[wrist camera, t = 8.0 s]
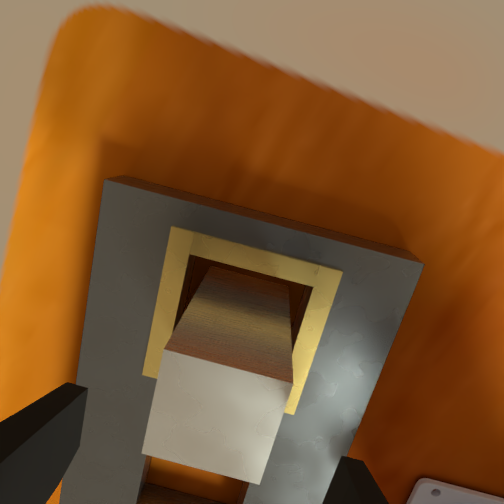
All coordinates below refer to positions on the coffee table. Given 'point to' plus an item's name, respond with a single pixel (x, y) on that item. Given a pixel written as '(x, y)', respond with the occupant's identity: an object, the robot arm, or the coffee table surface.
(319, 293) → the hole plate
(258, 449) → the steel peg
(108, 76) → the coffee table surface
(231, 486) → the coffee table surface
